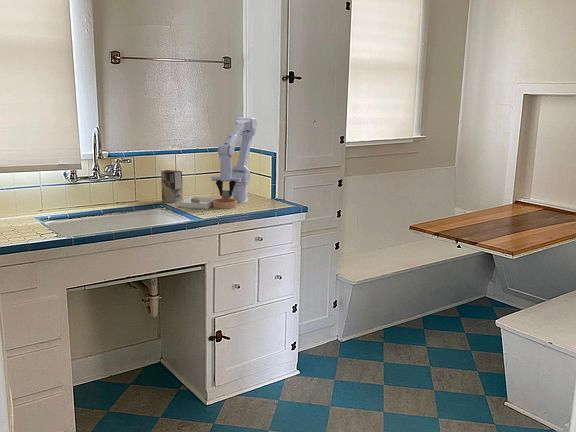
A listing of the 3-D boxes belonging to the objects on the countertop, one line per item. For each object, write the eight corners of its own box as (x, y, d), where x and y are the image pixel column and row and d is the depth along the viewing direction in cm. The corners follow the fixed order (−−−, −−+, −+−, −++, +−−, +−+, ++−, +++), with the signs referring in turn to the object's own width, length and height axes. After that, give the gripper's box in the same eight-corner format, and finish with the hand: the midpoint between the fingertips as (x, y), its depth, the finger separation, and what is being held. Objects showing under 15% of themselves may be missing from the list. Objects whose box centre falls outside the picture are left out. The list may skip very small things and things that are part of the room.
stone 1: (192, 205, 305) (192, 197, 305) (200, 205, 305) (200, 198, 304) (189, 206, 301) (189, 199, 301) (198, 207, 301) (198, 199, 300)
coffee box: (183, 201, 317) (182, 170, 313) (175, 203, 311) (174, 172, 308) (169, 200, 321) (168, 169, 317) (161, 202, 315) (160, 170, 312)
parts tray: (192, 201, 317) (192, 196, 317) (217, 203, 315) (217, 197, 314) (180, 208, 300) (180, 202, 299) (207, 209, 298) (207, 203, 297)
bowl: (216, 204, 311) (216, 197, 310) (239, 205, 309) (239, 198, 308) (209, 209, 300) (209, 202, 299) (233, 210, 298) (233, 203, 297)
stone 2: (223, 196, 308) (223, 189, 307) (231, 197, 307) (231, 190, 307) (220, 198, 304) (220, 191, 303) (229, 198, 303) (229, 191, 303)
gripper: (209, 169, 300) (209, 196, 303) (238, 170, 298) (238, 197, 300) (213, 167, 307) (213, 194, 310) (241, 168, 304) (241, 195, 307)
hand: (226, 195), depth 306 cm, fingers closed on stone 2, 4 cm apart
